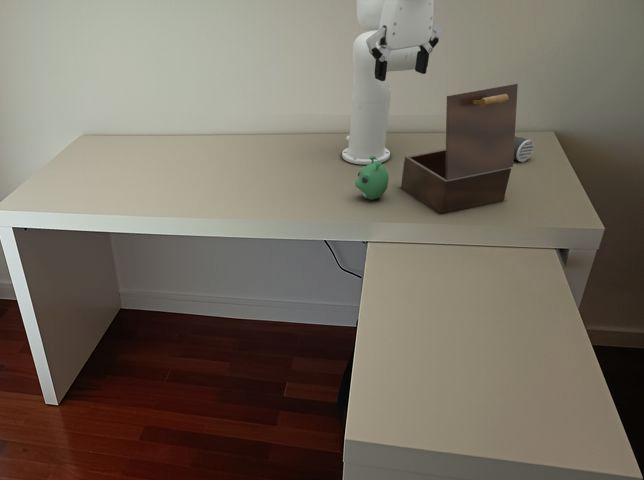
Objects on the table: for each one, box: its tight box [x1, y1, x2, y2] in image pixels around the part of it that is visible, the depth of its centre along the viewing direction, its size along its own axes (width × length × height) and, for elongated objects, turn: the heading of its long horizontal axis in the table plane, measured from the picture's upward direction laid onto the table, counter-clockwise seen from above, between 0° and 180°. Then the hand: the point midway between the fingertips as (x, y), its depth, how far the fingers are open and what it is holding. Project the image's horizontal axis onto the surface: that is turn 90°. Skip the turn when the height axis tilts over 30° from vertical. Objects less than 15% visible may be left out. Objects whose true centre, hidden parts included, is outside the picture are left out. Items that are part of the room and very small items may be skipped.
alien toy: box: [354, 156, 390, 200], centre depth 153 cm, size 7×8×10 cm
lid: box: [445, 83, 519, 180], centre depth 138 cm, size 17×17×5 cm
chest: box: [400, 148, 512, 215], centre depth 152 cm, size 17×17×8 cm
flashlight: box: [513, 135, 535, 163], centre depth 170 cm, size 15×5×5 cm, turn 25°
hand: (400, 76), depth 138 cm, fingers open, 9 cm apart
